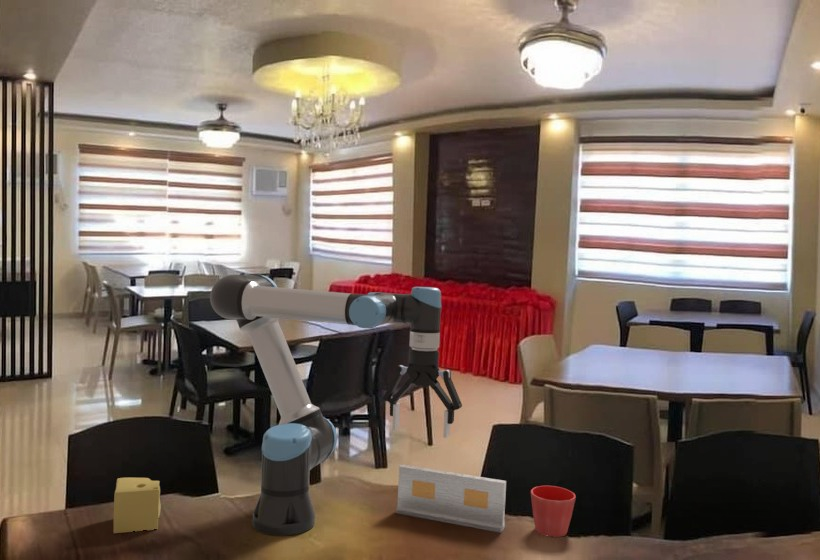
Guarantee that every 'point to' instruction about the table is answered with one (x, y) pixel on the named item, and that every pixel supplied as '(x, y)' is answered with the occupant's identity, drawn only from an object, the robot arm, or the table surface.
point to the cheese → (136, 505)
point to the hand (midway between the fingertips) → (420, 432)
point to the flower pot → (552, 509)
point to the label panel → (452, 497)
